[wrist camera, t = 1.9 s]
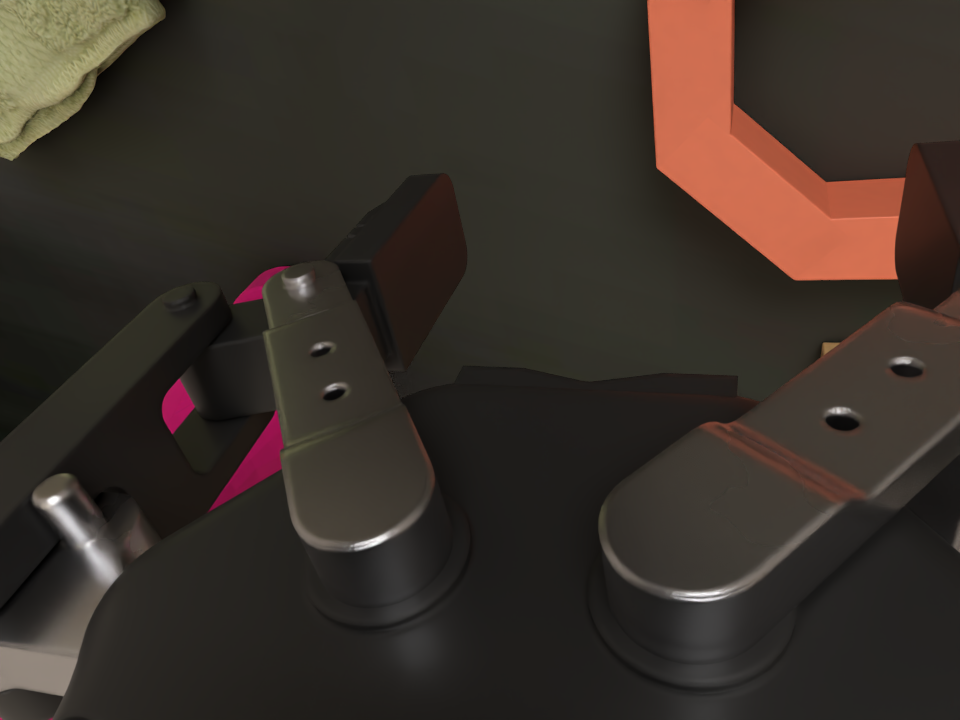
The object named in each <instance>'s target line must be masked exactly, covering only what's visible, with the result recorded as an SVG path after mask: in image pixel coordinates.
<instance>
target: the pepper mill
mask: <svg viewBox="0 0 960 720" xmlns="http://www.w3.org/2000/svg"><path fill="white" fill-rule="evenodd" d="M288 267H290V266H282V267H276V268H272V269H269V270H267V271H265V272H263V273H262V274H260V275H259V276H258V277H257V278H256V279H255V280H254V281H253V282H252V283H251V284H250V285H249V286H248V287H247V288H246V289H245V290H244V291H243V292H242V293H241V294H240V295H239V297H238V298H237V299H236V300H235V302H234V303H233V304H236V303H242V302H247V301H252V300H257V299H262V298H263V296H262V288H263V286H264V284H265V283H266V282H267V281H268V279H270V278H271V277H272V276H273V275H275V274H276V273H278V272H280V271H282V270H283V269H286V268H288ZM194 407H195V406H194V404H193V402H192V401H191V399H190V397H189V395H188V393H187V392H186V390H185V388H184V386H183V384H182V382H181V381H180V379H178V380H177V382H176V383H175V384H174V385H173V386H172V387H171V388H170V389H169V391H168V392H167V393H166V395H165V397H164V400H163V404H162V414H163V418H164V421H165V423H166V425H167V426H168V428H169V430H170V431H171V433H172V434H173V433H174V432H175V431H176V429H177V428H178V427H179V426H180V424H181V423H182V422H183V421H184V420H185V418H186V417H187V416H188V415H189V414H190V412H191V411H192V410H193V409H194ZM283 448H284V446H283V440H282V434H281V429H280V424H279V418H278V413H277V410H275V413H274V416H273V418H272V419H271V421H270V422H269V424H268V425H267V427H266V428H265V430H264V431H263V433H262V434H261V435H260V437H259V438H258V440H257V441H256V443H255V444H254V446H253V447H252V449H251V450H250V452H249V453H248V454H247V456H246V457H245V459H244V460H243V462H242V463H241V465H240V466H239V468H238V469H237V470H236V472H235V473H234V475H233V476H232V478H231V479H230V481H229V482H228V484H227V485H226V486H225V488H224V489H223V491H222V492H221V494H220V495H219V497H218V498H217V500H216V501H215V502H214V504H213V505H212V507H211V508H210V510H209V511H208V512H210V511H211V510H213V509H215V508H216V507H218V506H220V505H221V504H223V503H225V502H226V501H228V500H230V499H232V498H233V497H235V496H237V495H238V494H240V493H242V492H243V491H245V490H247V489H248V488H250V487H252V486H254V485H255V484H257V483H259V482H260V481H262V480H264V479H265V478H267V477H269V476H270V475H272V474H274V473H275V472H277V471H279V470H281V469H282V466H281V460H280V450H281V449H283ZM0 720H3V719H2V718H0ZM49 720H52V718H51V719H49Z"/></svg>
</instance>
